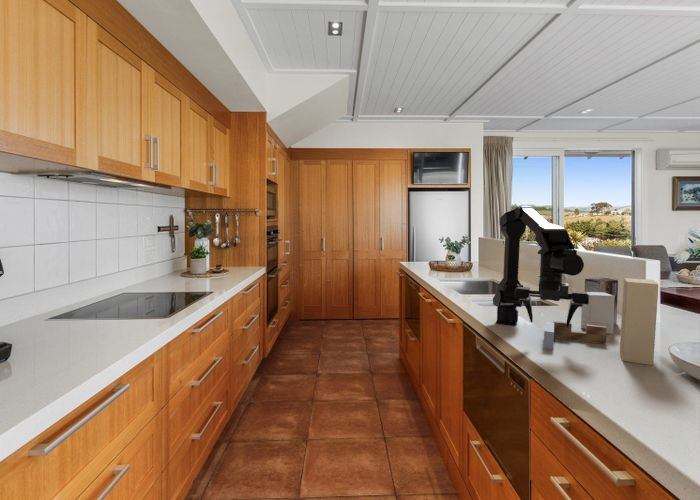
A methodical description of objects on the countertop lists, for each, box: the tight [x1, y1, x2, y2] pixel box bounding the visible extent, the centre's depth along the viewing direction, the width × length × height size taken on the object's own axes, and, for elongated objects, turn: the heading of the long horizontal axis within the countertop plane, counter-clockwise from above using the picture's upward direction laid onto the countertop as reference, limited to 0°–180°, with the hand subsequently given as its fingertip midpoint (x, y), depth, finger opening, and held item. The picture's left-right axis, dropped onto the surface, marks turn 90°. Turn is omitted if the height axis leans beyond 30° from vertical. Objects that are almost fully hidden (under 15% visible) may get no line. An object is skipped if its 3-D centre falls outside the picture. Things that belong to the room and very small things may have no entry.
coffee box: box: [584, 277, 619, 324], centre depth 138 cm, size 9×6×16 cm
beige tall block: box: [619, 277, 659, 366], centre depth 100 cm, size 8×7×21 cm
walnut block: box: [552, 320, 607, 345], centre depth 117 cm, size 14×2×5 cm, turn 61°
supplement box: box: [580, 292, 615, 335], centre depth 128 cm, size 7×7×13 cm
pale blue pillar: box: [543, 321, 555, 350], centre depth 114 cm, size 2×12×5 cm, turn 152°
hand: (549, 324), depth 110 cm, fingers open, 9 cm apart
